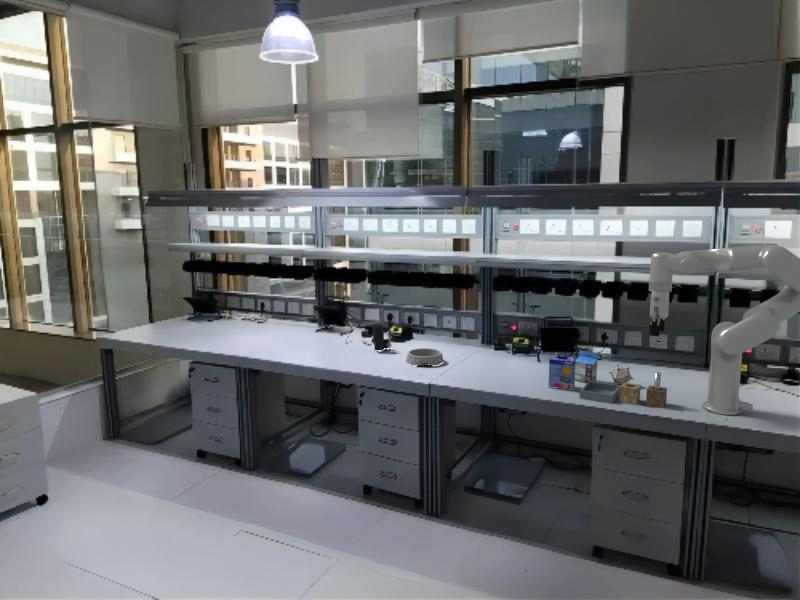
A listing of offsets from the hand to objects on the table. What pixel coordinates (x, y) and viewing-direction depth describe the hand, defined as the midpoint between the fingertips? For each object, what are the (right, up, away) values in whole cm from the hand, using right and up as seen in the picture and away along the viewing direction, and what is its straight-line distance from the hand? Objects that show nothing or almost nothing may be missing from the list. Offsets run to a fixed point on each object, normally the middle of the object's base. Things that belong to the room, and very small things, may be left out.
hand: (656, 333), depth 212 cm
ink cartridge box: (-28, -23, +23) cm, 44 cm away
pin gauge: (+1, -26, +2) cm, 26 cm away
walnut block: (+1, -26, +2) cm, 26 cm away
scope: (-104, -14, +87) cm, 136 cm away
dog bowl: (-82, -18, +64) cm, 105 cm away
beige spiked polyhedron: (-3, -23, +26) cm, 34 cm away
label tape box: (-16, -22, +31) cm, 42 cm away
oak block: (-8, -26, +6) cm, 28 cm away
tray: (-16, -25, +13) cm, 32 cm away
